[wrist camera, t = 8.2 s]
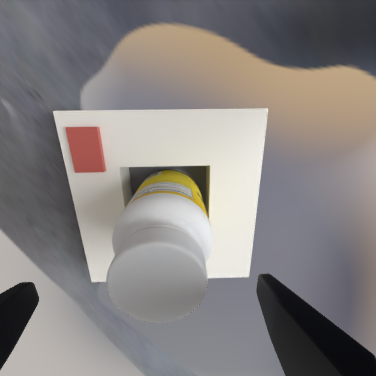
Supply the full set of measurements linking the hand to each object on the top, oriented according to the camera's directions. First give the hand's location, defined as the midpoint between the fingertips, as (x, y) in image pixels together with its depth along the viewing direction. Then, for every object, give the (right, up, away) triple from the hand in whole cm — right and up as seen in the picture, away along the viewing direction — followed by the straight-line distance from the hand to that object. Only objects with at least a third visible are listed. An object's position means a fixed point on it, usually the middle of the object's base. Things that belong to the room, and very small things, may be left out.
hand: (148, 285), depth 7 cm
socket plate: (0, +3, +9) cm, 10 cm away
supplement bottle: (0, +3, +9) cm, 10 cm away
